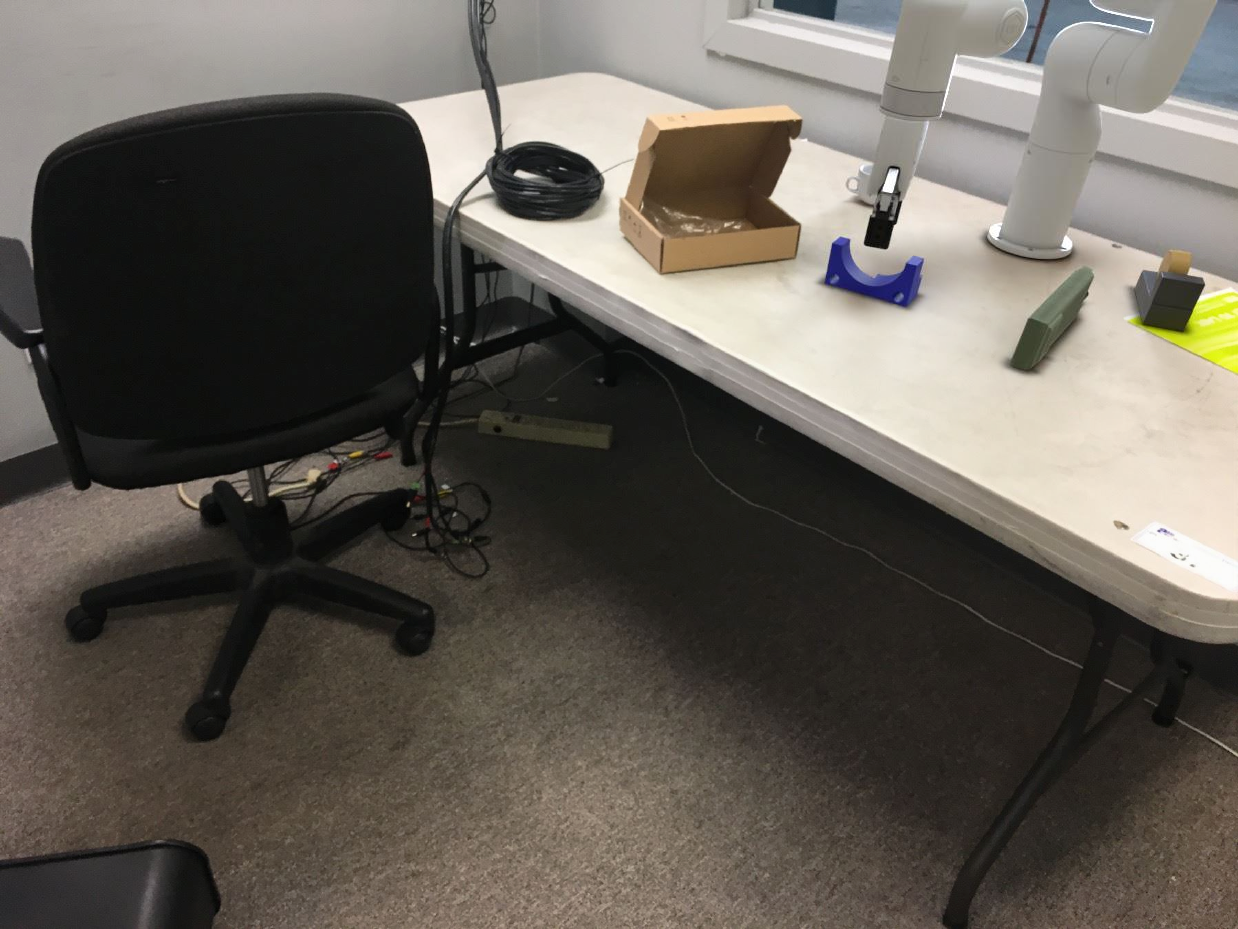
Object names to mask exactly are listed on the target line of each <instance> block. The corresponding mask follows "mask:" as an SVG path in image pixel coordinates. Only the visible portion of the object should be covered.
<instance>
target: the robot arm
mask: <svg viewBox="0 0 1238 929" xmlns="http://www.w3.org/2000/svg"><path fill="white" fill-rule="evenodd" d="M1218 1H1219V0H1089V3H1090V4H1091V5H1092V6H1093V7H1095V8H1097V9H1098V10H1100V11H1103V12H1106V13H1111V14H1114V15H1118V16H1123V17H1130V18H1134V19H1139V20H1144V21H1148V22H1149V21H1150V22H1152V23H1151V27H1150V30H1149V32H1145V31H1140V30H1136V29H1131V28H1128V27H1124V26H1118V25H1112V24H1108V23H1103V22H1096V21H1083V22H1077V23H1074V24H1071V25H1069V26H1067V27H1065V28H1063V30H1061V31H1060V32H1059V33H1058V34H1057V35H1056V36H1055V37H1054V38H1053V40H1052V42H1050V45H1049V47H1048V49H1047V52H1046V55H1045V58H1044V62H1043V67H1042V68H1043V69H1042V78H1041V87H1040V93H1039V94H1040V95H1039V99H1038V104H1037V107H1036V112H1035V115H1034V119H1033V122H1032V126H1031V129H1030V132H1029V136H1028V139H1027V141H1026V145H1025V148H1024V151H1023V154H1022V158H1021V161H1020V164H1019V166H1018V169H1017V174H1016V177H1015V180H1014V183H1013V185H1012V190H1011V192H1010V195H1009V199H1008V202H1007V205H1006V209H1005V212H1004V215H1003V218H1002V222H1000V223H996V224H994V225H992V226H991V227H989V229H988V233H987V239H988V242H990V243H991V244H992V245H993V246H994V247H996V248H998V249H1000V250H1001V251H1004V252H1007V253H1010V254H1012V255H1015V256H1019V257H1025V258H1029V259H1038V260H1055V259H1061V258H1065V257H1068V256H1069V255H1070V254H1071V253H1072V250H1073V248H1074V243H1073V241H1072V239H1070V238H1069V237H1068V236H1067V233H1068V230H1069V228H1070V224H1071V221H1072V219H1073V216H1074V213H1075V210H1076V208H1077V206H1078V202H1079V200H1080V196H1081V194H1082V191H1083V188H1084V186H1085V184H1086V181H1087V177H1088V174H1089V172H1090V169H1091V167H1092V163H1093V160H1094V158H1095V155H1096V152H1097V150H1098V148H1099V145H1100V142H1101V139H1102V135H1103V117H1102V110H1101V106H1105V107H1108V108H1112V109H1115V110H1119V111H1123V112H1127V113H1131V114H1137V115H1139V114H1141V115H1142V114H1143V115H1144V114H1149V113H1152V112H1154V111H1155V110H1157V109H1159V108H1160V107H1161V106H1162V105H1163V104H1165V102H1166V101H1167V100H1168V99H1169V97H1170V96H1171V94H1172V93H1173V92H1174V90H1175V88H1176V86H1177V85H1178V83H1179V81H1180V79H1181V78H1182V76H1183V73H1184V71H1185V69H1186V67H1187V66H1188V63H1189V61H1190V59H1191V57H1192V55H1193V53H1194V51H1195V48H1196V47H1197V44H1198V43H1199V41H1200V38H1201V36H1202V35H1203V32H1204V31H1205V28H1206V26H1207V24H1208V23H1209V20H1210V18H1211V16H1212V14H1213V12H1214V9H1216V6H1217V4H1218ZM1028 18H1029V12H1028V7H1027V5H1026V2H1025V0H903V1H902V4H901V9H900V13H899V17H898V23H897V27H896V31H895V35H894V39H893V45H892V49H891V50H892V51H891V54H890V58H889V63H888V66H887V67H888V68H887V71H886V76H885V82H884V84H883V89H882V90H883V91H882V94H881V99H880V103H879V108H878V111H879V112H880V113H881V114H883V115H885V117H884V120H883V121H884V122H883V124H882V128H881V132H880V135H879V139H878V142H877V143H878V144H877V147H876V151H875V152H876V153H875V157H874V160H873V163H872V164H873V168H872V172H871V176H870V180H869V184H868V188H867V192H866V193H867V195H868V196H871V195H875V194H876V193H877V192H878V193H877V197H876V201H875V204H874V205H873V208H872V212H871V214H869V218H868V223H867V227H866V231H865V235H864V239H863V246H864V247H869V248H874V249H879V250H885V251H886V250H888V249H889V248H890V244H891V239H892V236H893V233H894V232H893V231H894V227H895V226H896V225H897V224H898V221H899V218H900V212H901V209H902V204H903V201H904V200H905V198H906V196H907V193H908V191H909V188H910V186H911V185H912V182H913V178H914V176H915V173H916V170H917V167H918V164H919V161H920V157H921V155H922V151H923V147H924V144H925V141H926V140H925V139H926V135H927V132H928V128H929V124H930V122H935V121H938V120H940V119H941V118H942V115H943V111H944V107H945V103H946V100H947V99H946V98H947V97H948V96H947V95H948V93H949V92H948V91H949V87H950V85H951V84H950V83H951V80H952V78H953V72H954V69H955V65H956V61H957V58H958V57H960V56H966V57H974V58H981V59H991V58H995V57H999V56H1002V55H1004V54H1006V53H1007V52H1008V51H1010V50H1011V49H1013V48H1014V47H1015V46H1016V44H1017V43H1018V42H1019V41H1020V40H1021V38H1022V36H1023V35H1024V33H1025V31H1026V28H1027V25H1028ZM881 191H882V192H881Z"/></svg>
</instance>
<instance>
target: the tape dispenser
mask: <svg viewBox="0 0 1238 929" xmlns="http://www.w3.org/2000/svg"><path fill="white" fill-rule="evenodd" d="M1192 258H1193V257H1192V253H1191V252H1189V251H1182V250H1176V249H1169V250H1167V252H1166V253H1165V254H1164V256H1163V258H1162V260H1161V262H1160V265H1159V268H1158V271H1153V270H1147V269H1142V270H1141V272H1140V274H1139V277H1138V279H1137V282H1136V284H1135V286H1134V292H1135V297H1136V301H1137V305H1138V310H1139V311H1138V312H1139V315H1140V320H1141V323H1142V325H1145V326H1151V327H1155V328H1161V329H1167V330H1174V331H1179V332H1184V331H1185V329H1186V328H1187V325H1188V323H1189V321H1190V319H1191V317H1192V315H1193V313H1194V310H1195V307H1196V305H1197V303H1198V302H1199V299H1200V297H1201V295H1202V293H1203V291H1204V289H1205V287H1206V282H1205V279H1204V278H1203V277H1202V276H1196V275H1190V274H1189V271H1190V268H1191V265H1192Z"/></svg>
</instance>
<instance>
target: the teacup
mask: <svg viewBox="0 0 1238 929" xmlns="http://www.w3.org/2000/svg"><path fill="white" fill-rule="evenodd" d="M873 164H874V163H866V164H862V165H860V166H859V168H858V173H857V175H852V176H850V177H848V178H847V179H846V181H845V188H846V189H847V191H849V192H850V193H853V194H856V195H858V197H859V198H860V199H861V200H862V202H863V203H864V204H867V205H870V206H874V204H875V201H876V197H877V193H878V192H877V193H876V194H875V195H871V196H868V195H867V193H866V192H867V188H868V184H869V180H870V176H871V172H872V168H873ZM852 180H855V181H856V189H855V188H854V189H853V188H850V186H849V185H850V182H851V181H852ZM881 192H882V191H881Z"/></svg>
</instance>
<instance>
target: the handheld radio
mask: <svg viewBox="0 0 1238 929" xmlns="http://www.w3.org/2000/svg"><path fill="white" fill-rule="evenodd" d="M1093 271H1094V269H1093V268H1091V267H1088V266H1082V267H1080V268H1078V269H1076V270H1074V272H1073V273H1071V275H1070V276H1068V277H1067V278H1066V279H1065V280H1064V281H1063V282H1062V283H1061V284H1060V285H1059V286H1058V287H1057V288H1056V289H1055V290H1054V291H1053V292H1052V293H1051V294H1050V295H1049V296H1048V297H1047V298H1046V299H1045V300H1044V301H1043V302H1042V303H1041V305H1039V307H1038V308H1037V309H1035V310H1034V312H1033V313H1032V314H1030V316H1029V317H1028V318H1027V320H1026V322H1025V325H1024V327H1023V330H1022V332H1021V335H1020V337H1019V340H1018V343H1017V345H1016V347H1015V350H1014V352H1013V354H1012V357H1011V360H1010V364H1011V366H1012V367H1014V368H1017V369H1020V370H1023V371H1029V370H1030V369H1032V367H1035V366H1036V365H1038V364H1039V363H1040V361H1041V360H1042V359H1043V358H1044V357H1045V356H1046V355H1047V353H1048V352H1049V351H1050V349H1051V346H1052V345H1053V344H1054V343H1055V342H1056V341H1057V340H1058V339H1059V337H1060V336H1061V335H1062V334H1063V333H1064V332H1065V331H1066V329H1067V328H1068V327H1069V326H1070V325H1071V324H1072V323H1073V322H1074V320H1075V319H1076V318H1077V316H1078V315H1079V312H1080V310H1081V307H1082V305H1083V303H1084V301H1085V300H1086V299H1087V298H1088V296H1089V294H1090V293H1089V290H1090V287H1091V285H1092V283H1093V280H1094V278H1095V274H1094V273H1093Z"/></svg>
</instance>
